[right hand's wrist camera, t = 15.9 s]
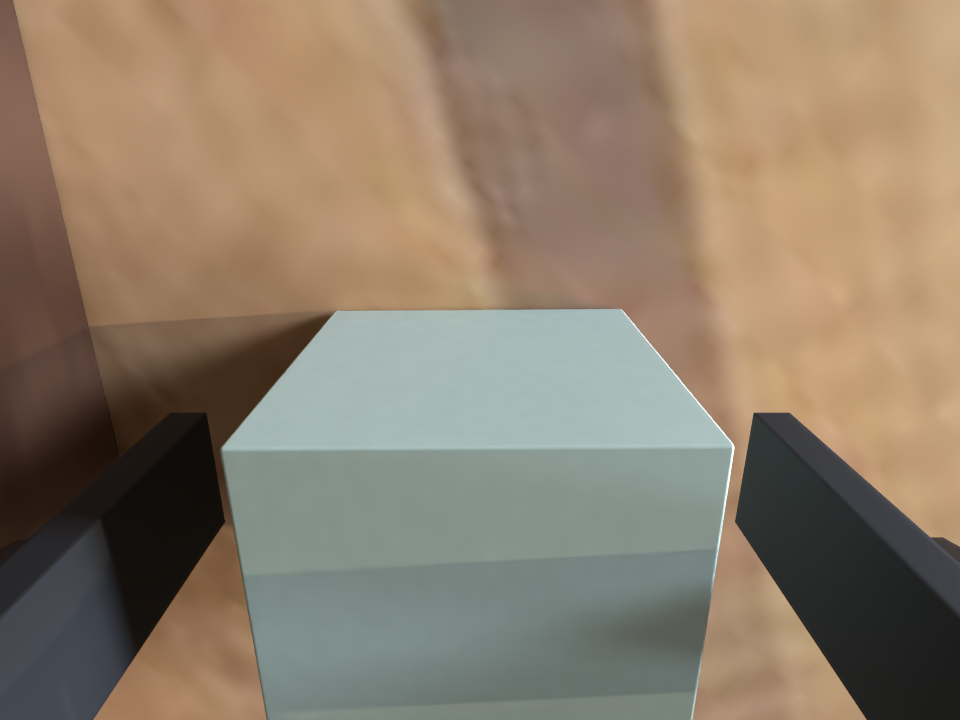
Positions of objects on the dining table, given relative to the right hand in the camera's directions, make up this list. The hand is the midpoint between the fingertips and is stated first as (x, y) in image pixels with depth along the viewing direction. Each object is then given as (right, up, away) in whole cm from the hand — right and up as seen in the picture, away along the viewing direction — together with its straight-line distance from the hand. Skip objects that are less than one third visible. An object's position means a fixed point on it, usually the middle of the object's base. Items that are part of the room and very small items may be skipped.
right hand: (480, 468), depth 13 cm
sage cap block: (0, +1, +3) cm, 3 cm away
